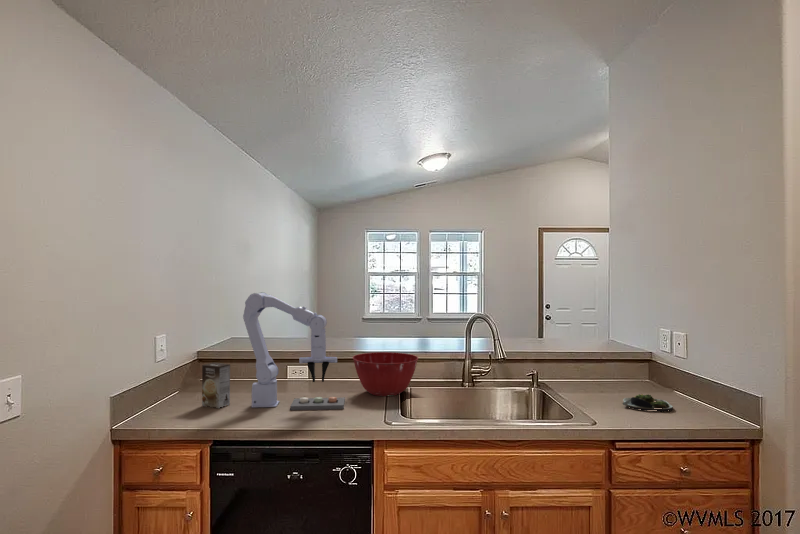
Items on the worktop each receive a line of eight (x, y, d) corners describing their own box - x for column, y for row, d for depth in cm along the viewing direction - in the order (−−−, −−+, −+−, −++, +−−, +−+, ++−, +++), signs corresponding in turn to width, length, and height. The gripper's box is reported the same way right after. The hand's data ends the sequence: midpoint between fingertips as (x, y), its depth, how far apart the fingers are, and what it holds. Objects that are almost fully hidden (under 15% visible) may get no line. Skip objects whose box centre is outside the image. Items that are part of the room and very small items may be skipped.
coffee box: (200, 406, 201) (201, 364, 201) (213, 402, 207) (213, 362, 207) (218, 408, 197) (218, 366, 198) (230, 404, 203) (230, 363, 203)
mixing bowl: (420, 386, 236) (420, 352, 236) (416, 401, 207) (416, 363, 207) (359, 384, 238) (359, 351, 239) (346, 400, 210) (346, 362, 210)
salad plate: (616, 398, 213) (616, 387, 213) (664, 401, 208) (664, 390, 208) (623, 411, 194) (623, 398, 194) (676, 414, 189) (676, 401, 189)
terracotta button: (328, 403, 200) (328, 398, 200) (328, 401, 203) (328, 396, 203) (336, 403, 200) (336, 398, 200) (337, 401, 204) (337, 396, 204)
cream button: (299, 403, 199) (299, 399, 200) (300, 401, 203) (300, 397, 203) (307, 403, 200) (307, 399, 200) (308, 401, 203) (308, 397, 203)
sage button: (313, 403, 200) (313, 399, 200) (314, 401, 203) (314, 397, 203) (322, 403, 200) (322, 399, 200) (322, 401, 203) (322, 397, 203)
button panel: (290, 410, 195) (290, 406, 195) (294, 402, 207) (294, 398, 207) (343, 409, 196) (343, 405, 196) (344, 401, 208) (344, 397, 208)
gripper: (298, 348, 197) (298, 383, 197) (336, 347, 198) (336, 383, 198) (300, 345, 204) (300, 380, 204) (337, 345, 205) (337, 379, 205)
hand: (318, 381), depth 202 cm, fingers open, 3 cm apart
